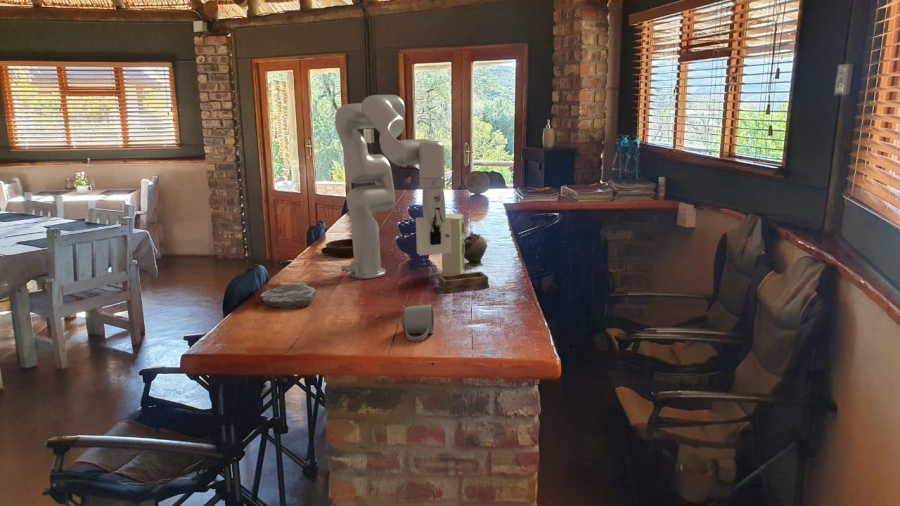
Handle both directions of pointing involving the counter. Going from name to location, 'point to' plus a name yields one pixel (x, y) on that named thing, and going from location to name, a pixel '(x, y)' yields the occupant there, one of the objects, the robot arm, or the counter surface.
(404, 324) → the ceramic mug
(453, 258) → the toy refrigerator
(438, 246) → the rectangular block
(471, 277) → the brown wooden tray
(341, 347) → the counter surface
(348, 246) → the dish
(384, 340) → the counter surface
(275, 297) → the brain slice
